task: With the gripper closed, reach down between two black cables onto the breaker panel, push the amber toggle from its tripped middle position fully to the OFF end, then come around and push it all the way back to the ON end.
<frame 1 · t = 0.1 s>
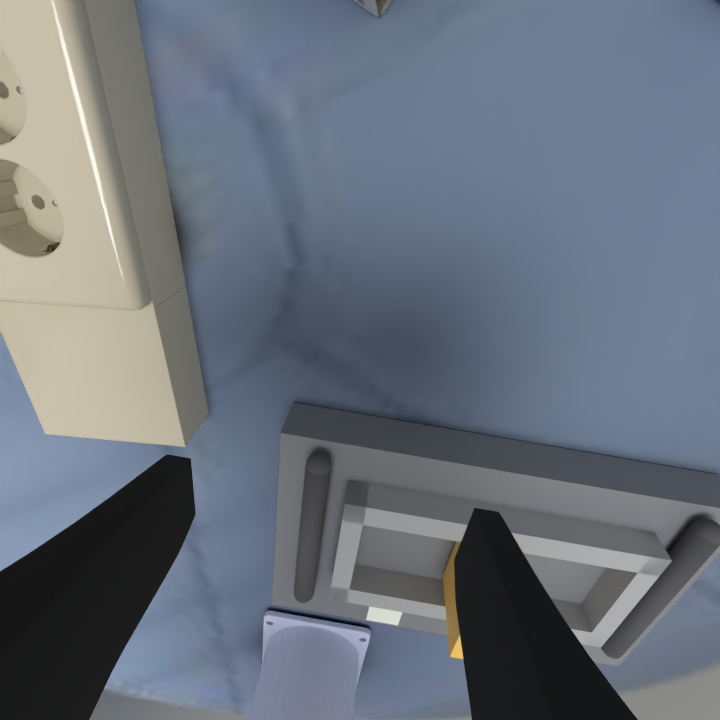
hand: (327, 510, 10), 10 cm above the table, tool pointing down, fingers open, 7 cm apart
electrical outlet: (108, 237, 19), on the table
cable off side: (625, 543, 24), resting on breaker panel
breaker panel: (467, 528, 25), on the table
cable on side: (321, 490, 24), resting on breaker panel
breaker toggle: (486, 595, 20), point 5 cm above the table, slide at 4.0 cm
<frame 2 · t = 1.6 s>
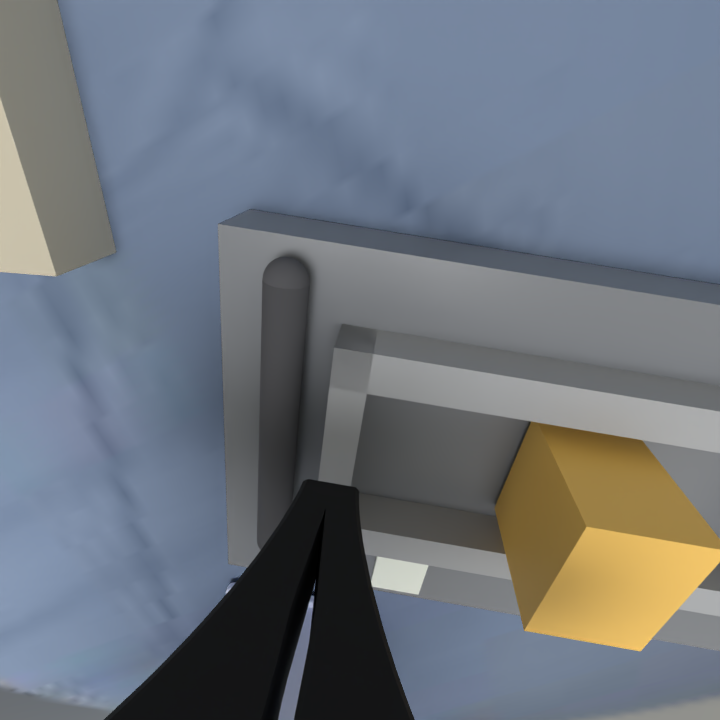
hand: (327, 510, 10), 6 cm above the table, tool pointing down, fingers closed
breaker panel: (526, 441, 16), on the table
cable on side: (300, 381, 16), resting on breaker panel
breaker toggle: (583, 524, 11), point 5 cm above the table, slide at 4.0 cm
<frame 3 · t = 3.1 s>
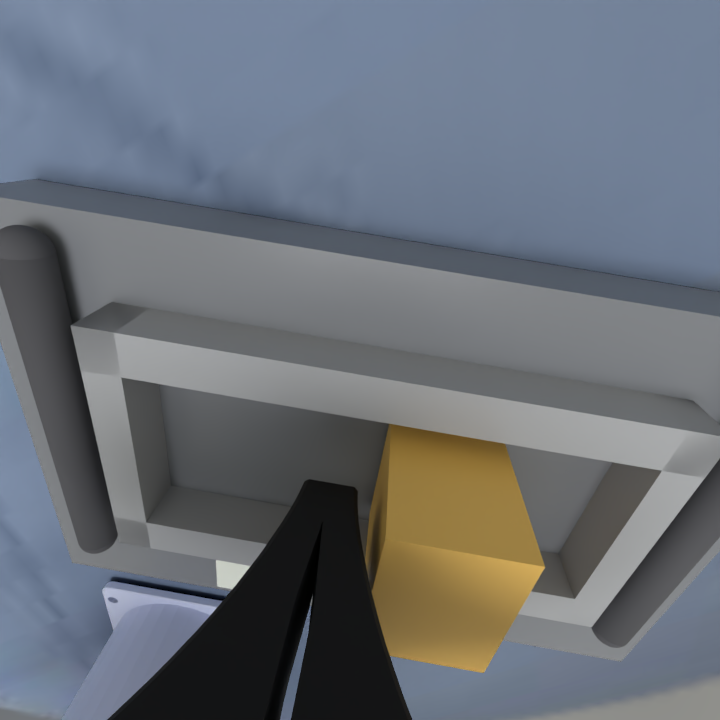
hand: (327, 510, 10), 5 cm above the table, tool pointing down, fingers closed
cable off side: (633, 455, 14), resting on breaker panel
breaker panel: (375, 434, 15), on the table
cable on side: (131, 369, 15), resting on breaker panel
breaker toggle: (434, 532, 10), point 5 cm above the table, slide at 2.4 cm, touching gripper
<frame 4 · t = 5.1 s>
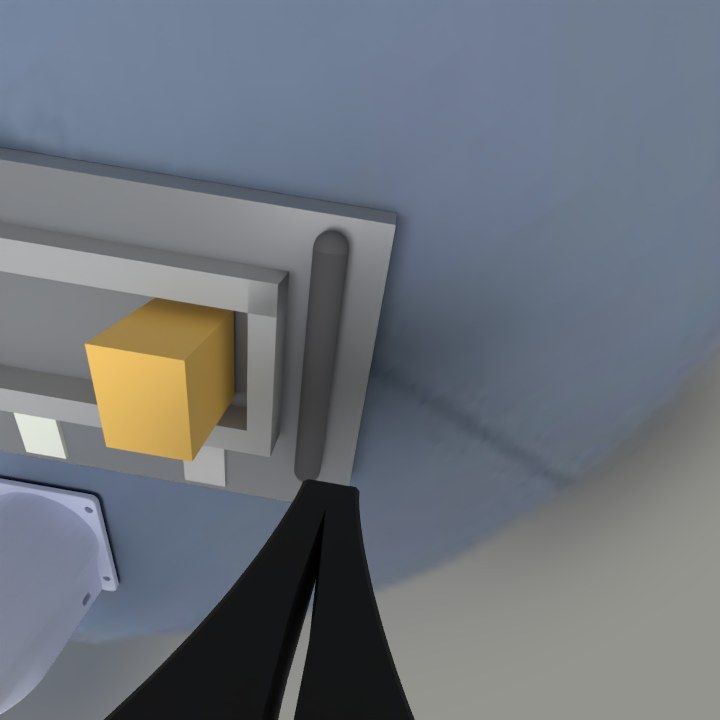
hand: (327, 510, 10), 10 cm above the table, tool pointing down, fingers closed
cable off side: (329, 341, 19), resting on breaker panel
breaker panel: (140, 328, 19), on the table
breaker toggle: (173, 375, 15), point 5 cm above the table, slide at 0.0 cm
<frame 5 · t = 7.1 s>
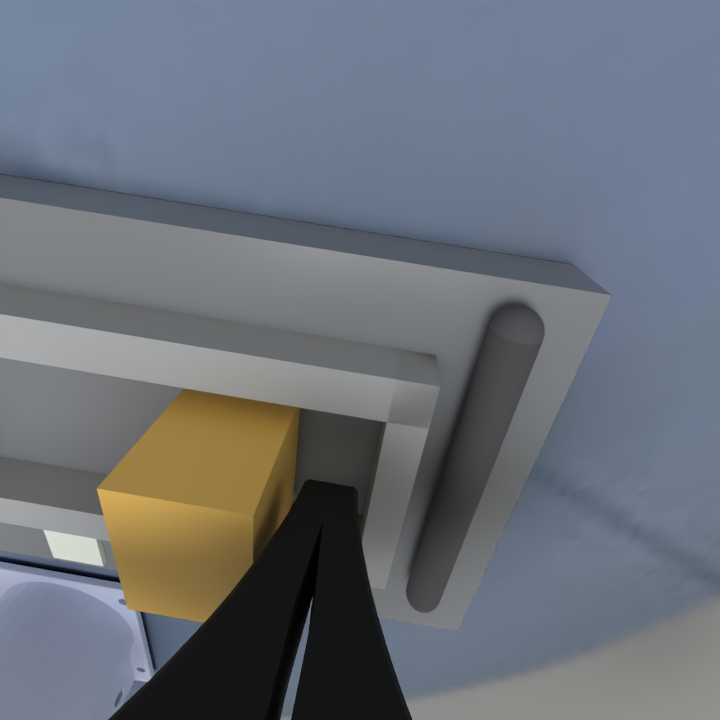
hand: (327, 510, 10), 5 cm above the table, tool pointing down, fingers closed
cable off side: (449, 422, 14), resting on breaker panel
breaker panel: (199, 403, 15), on the table
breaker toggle: (220, 495, 10), point 5 cm above the table, slide at 1.3 cm, touching gripper
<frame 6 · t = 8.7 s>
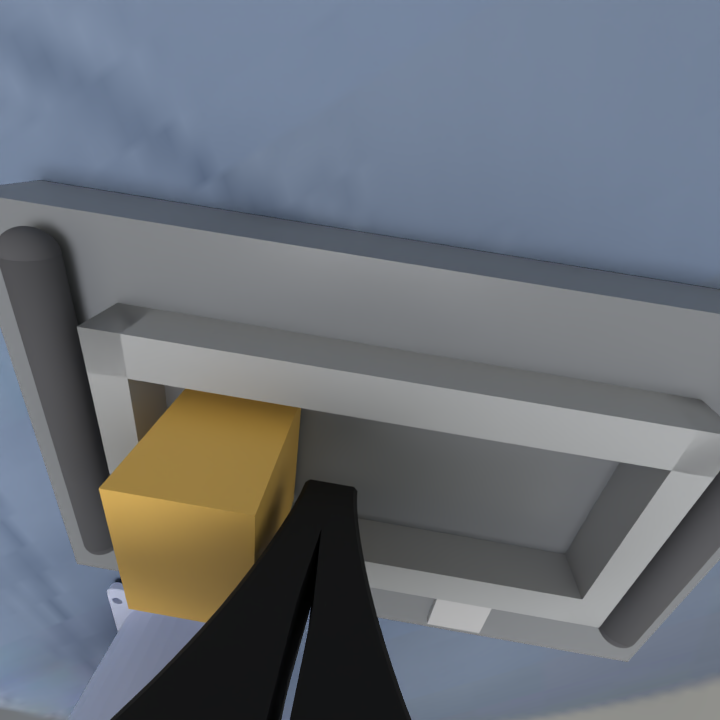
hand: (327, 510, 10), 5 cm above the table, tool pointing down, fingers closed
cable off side: (640, 455, 14), resting on breaker panel
breaker panel: (380, 434, 15), on the table
cable on side: (135, 370, 15), resting on breaker panel
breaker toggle: (221, 495, 10), point 5 cm above the table, slide at 8.0 cm, touching gripper
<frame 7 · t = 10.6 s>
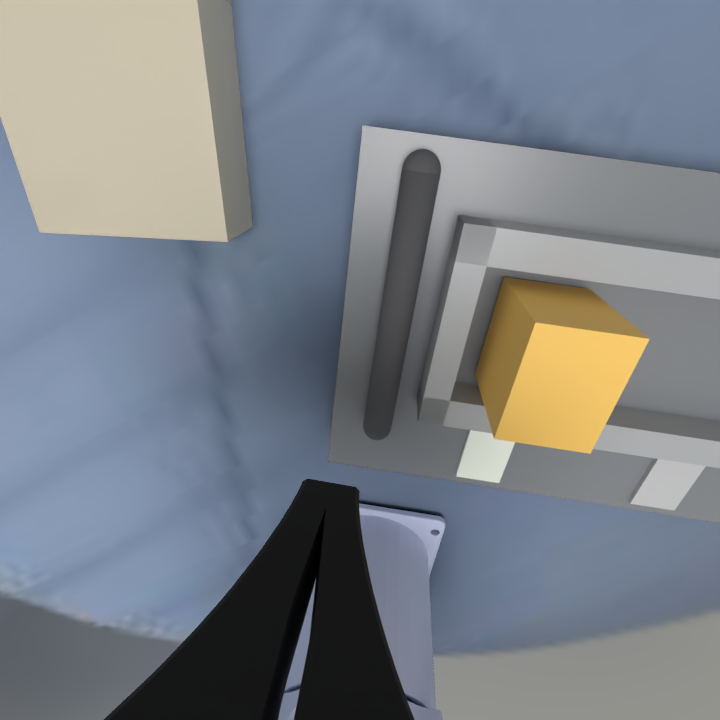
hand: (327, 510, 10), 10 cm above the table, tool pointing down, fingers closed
breaker panel: (596, 341, 18), on the table
cable on side: (397, 291, 18), resting on breaker panel
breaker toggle: (544, 359, 14), point 5 cm above the table, slide at 8.0 cm
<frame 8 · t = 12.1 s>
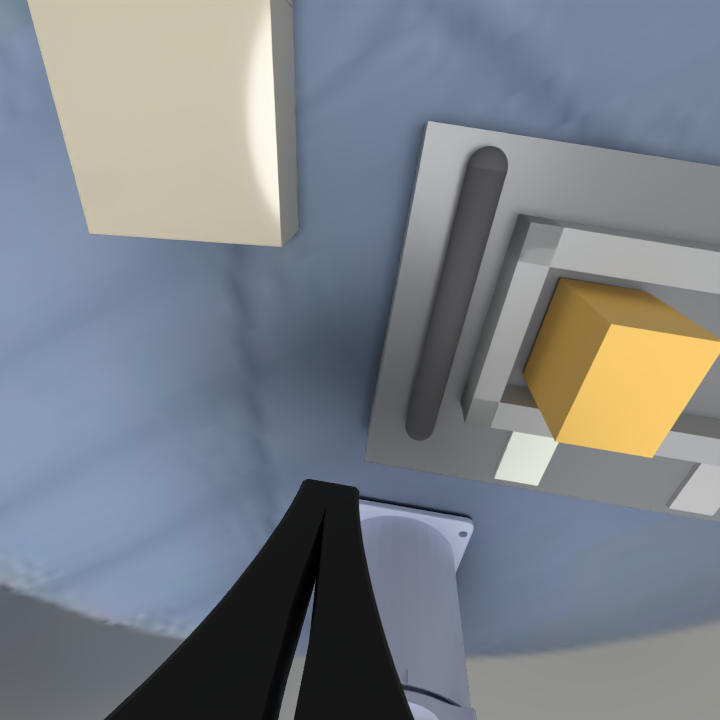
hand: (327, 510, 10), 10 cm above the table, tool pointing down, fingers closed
breaker panel: (639, 345, 18), on the table
cable on side: (441, 290, 18), resting on breaker panel
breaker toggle: (603, 362, 13), point 5 cm above the table, slide at 8.0 cm
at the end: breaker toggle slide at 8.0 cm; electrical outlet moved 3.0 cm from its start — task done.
